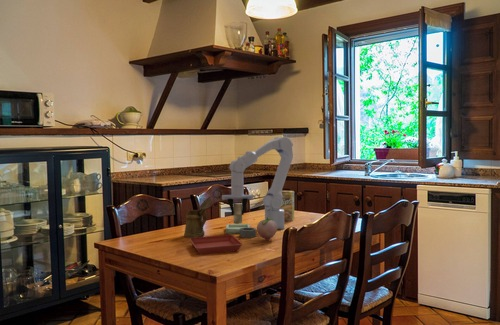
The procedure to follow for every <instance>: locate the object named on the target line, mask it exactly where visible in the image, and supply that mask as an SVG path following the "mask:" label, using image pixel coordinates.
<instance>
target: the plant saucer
mask: <svg viewBox="0 0 500 325" xmlns="http://www.w3.org/2000/svg"><path fill="white" fill-rule="evenodd" d="M189 240H190V242H191V243H192V245H193V246H194V248H195V249H196V251H197V252H198V253H199V254H200V255H204V254H216V253H227V252H236V251H238V250H239V249H240V248H241V247H242V246H243V243H242V242H241V241H240V240H239V239H237V238H236V237H235V236H234V235H233V234H225V235H224V234H222V235H210V236H202V237H196V238H189Z"/></svg>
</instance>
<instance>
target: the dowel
mask: <svg viewBox="0 0 500 325" xmlns="http://www.w3.org/2000/svg"><path fill="white" fill-rule="evenodd" d="M233 212H234V215H233V224H243V215H242V202H241V203H240V202H239V203H238V202H237V203H233Z"/></svg>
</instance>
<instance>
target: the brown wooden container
mask: <svg viewBox="0 0 500 325" xmlns="http://www.w3.org/2000/svg"><path fill="white" fill-rule="evenodd" d="M211 202H212V198H211V196H208V198H206V199H205V200H203V202H202V203H201V205H200V207H199V208H200V209H191V210H190V209H189V210H187V211H186V214H185V219H186V220H185V228H184V234H183V237H184V238H189V239H190V238H196V237H205V234H206V233H205V230H204V226H205V225H206V222H207V218H208V216H207V215H208V214H207V211H206V209H207V208H208V207H209V205H211Z"/></svg>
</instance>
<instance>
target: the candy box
mask: <svg viewBox="0 0 500 325" xmlns="http://www.w3.org/2000/svg"><path fill="white" fill-rule="evenodd" d="M281 192H282V195H283V197H282V205H281V207H280V209H284V221H288V222H289V221H290V222H293V221H295V191H294V190H282V191H281Z"/></svg>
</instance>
